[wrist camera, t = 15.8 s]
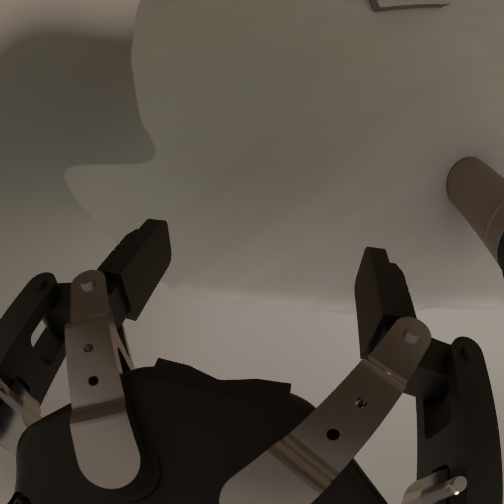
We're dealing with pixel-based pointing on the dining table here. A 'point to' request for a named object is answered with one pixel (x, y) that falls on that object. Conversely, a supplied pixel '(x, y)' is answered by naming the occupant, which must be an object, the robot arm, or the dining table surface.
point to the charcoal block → (406, 4)
